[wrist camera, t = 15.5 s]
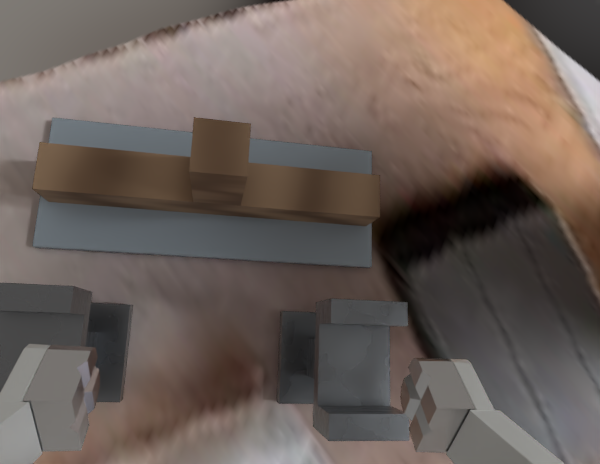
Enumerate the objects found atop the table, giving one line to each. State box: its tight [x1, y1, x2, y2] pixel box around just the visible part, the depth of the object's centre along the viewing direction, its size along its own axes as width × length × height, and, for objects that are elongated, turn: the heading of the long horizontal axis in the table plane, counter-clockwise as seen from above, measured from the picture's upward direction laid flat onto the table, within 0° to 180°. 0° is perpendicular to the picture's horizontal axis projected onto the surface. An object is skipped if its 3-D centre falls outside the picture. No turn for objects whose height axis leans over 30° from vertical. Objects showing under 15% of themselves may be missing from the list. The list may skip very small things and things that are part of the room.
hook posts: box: [0, 283, 409, 441], centre depth 27 cm, size 22×7×10 cm, turn 88°
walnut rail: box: [32, 117, 380, 226], centre depth 29 cm, size 22×3×9 cm, turn 88°
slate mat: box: [33, 118, 372, 268], centre depth 34 cm, size 23×9×1 cm, turn 88°
